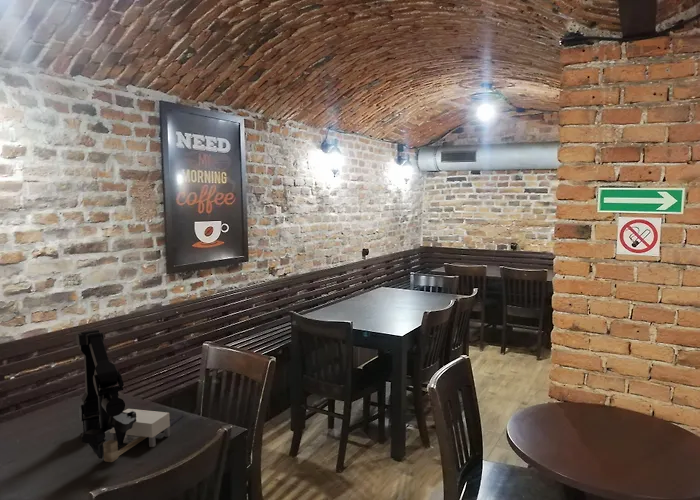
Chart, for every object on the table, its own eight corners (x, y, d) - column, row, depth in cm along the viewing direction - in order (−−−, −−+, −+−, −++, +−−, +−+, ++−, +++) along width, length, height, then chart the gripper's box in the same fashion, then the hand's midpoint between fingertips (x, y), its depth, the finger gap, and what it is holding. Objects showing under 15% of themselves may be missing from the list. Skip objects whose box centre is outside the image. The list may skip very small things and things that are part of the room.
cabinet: (110, 442, 183) (109, 419, 182) (129, 430, 192) (128, 408, 192) (153, 447, 178) (151, 423, 177) (170, 435, 187) (169, 412, 187)
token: (117, 443, 183) (117, 440, 182) (129, 436, 188) (128, 433, 188) (130, 445, 181) (130, 442, 181) (142, 438, 186) (142, 435, 186)
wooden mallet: (88, 459, 170) (87, 441, 170) (131, 432, 190) (130, 417, 190) (111, 462, 167) (110, 444, 167) (152, 435, 188) (151, 419, 187)
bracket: (150, 416, 207) (149, 409, 207) (183, 418, 204) (183, 411, 204) (128, 431, 193) (128, 424, 193) (164, 433, 190) (163, 426, 190)
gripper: (108, 420, 157) (110, 468, 158) (147, 398, 175) (149, 442, 176) (78, 416, 160) (81, 464, 161) (120, 395, 178) (122, 438, 179)
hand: (110, 452), depth 169 cm, fingers open, 9 cm apart
